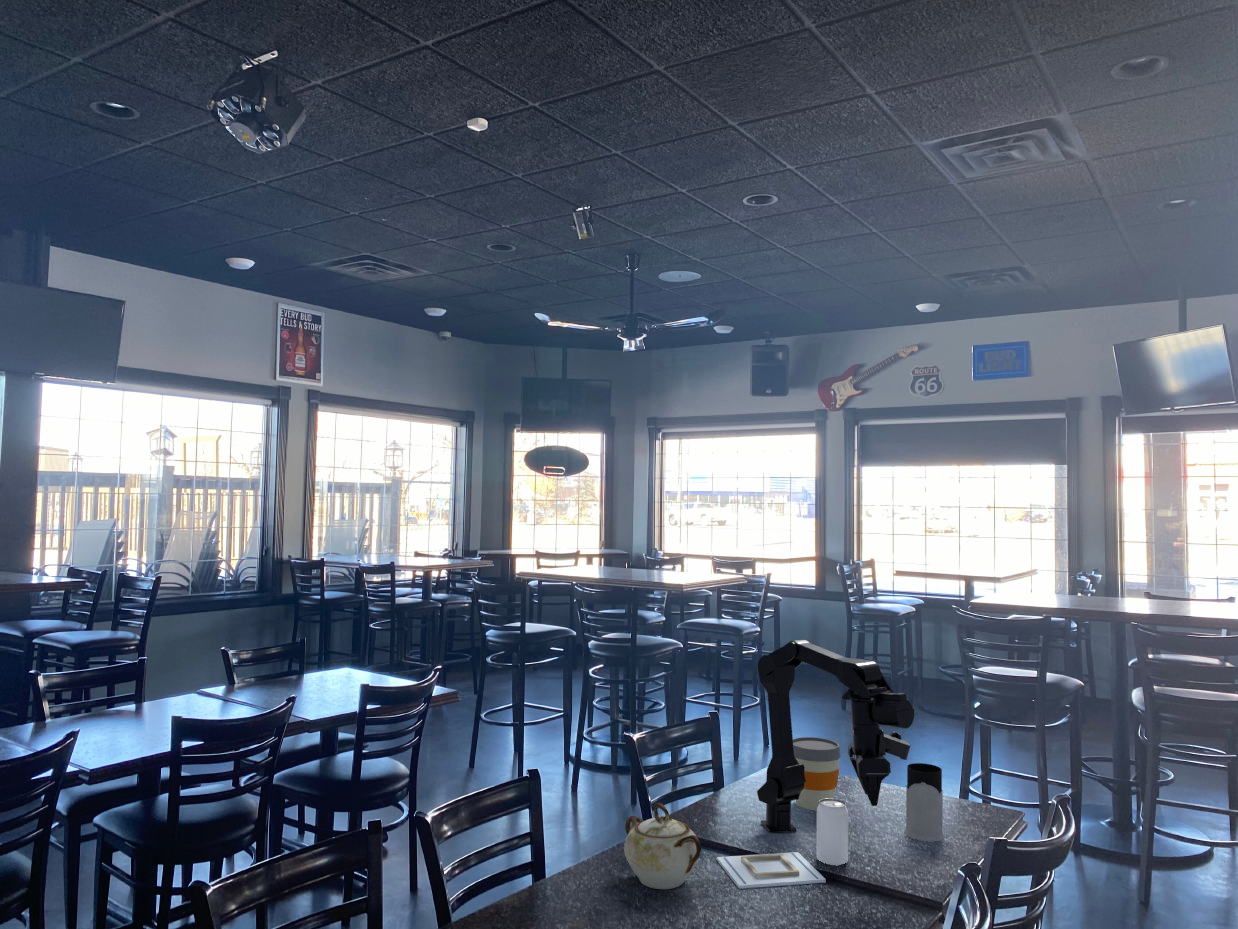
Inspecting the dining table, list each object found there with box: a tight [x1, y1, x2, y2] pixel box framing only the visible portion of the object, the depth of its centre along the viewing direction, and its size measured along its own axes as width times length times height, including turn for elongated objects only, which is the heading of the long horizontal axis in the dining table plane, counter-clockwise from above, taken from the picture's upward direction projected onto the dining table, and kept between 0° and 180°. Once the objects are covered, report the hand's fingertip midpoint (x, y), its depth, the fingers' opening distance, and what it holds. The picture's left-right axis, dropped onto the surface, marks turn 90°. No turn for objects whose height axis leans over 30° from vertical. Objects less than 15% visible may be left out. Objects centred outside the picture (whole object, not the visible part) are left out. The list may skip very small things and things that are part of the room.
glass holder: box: [903, 762, 945, 843], centre depth 207 cm, size 9×14×15 cm, turn 158°
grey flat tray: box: [716, 851, 826, 890], centre depth 183 cm, size 14×18×1 cm
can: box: [815, 798, 849, 865], centre depth 189 cm, size 6×6×12 cm
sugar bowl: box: [623, 802, 702, 890], centre depth 177 cm, size 20×15×15 cm
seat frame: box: [741, 854, 799, 879], centre depth 183 cm, size 9×9×1 cm
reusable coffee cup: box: [793, 736, 841, 811], centre depth 224 cm, size 13×13×15 cm
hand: (871, 799), depth 187 cm, fingers open, 9 cm apart
